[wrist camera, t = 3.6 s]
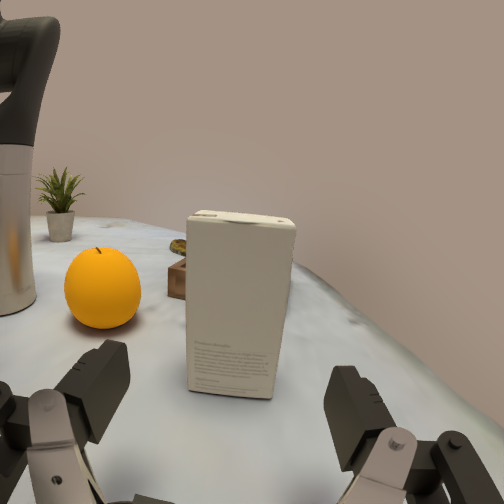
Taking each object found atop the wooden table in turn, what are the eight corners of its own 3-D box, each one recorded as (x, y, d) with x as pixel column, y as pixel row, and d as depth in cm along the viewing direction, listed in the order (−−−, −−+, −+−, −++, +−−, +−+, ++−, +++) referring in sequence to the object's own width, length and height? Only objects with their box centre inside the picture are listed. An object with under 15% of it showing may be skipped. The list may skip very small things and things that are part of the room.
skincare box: (270, 367, 22) (292, 216, 20) (272, 403, 18) (302, 225, 15) (194, 359, 22) (201, 207, 19) (182, 394, 18) (186, 213, 15)
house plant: (34, 234, 56) (35, 167, 52) (83, 231, 64) (86, 166, 61) (28, 247, 45) (28, 165, 42) (88, 243, 54) (91, 164, 50)
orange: (151, 335, 25) (150, 256, 23) (70, 344, 20) (58, 260, 19) (133, 301, 31) (132, 237, 30) (68, 306, 27) (62, 239, 25)
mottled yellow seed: (156, 254, 57) (216, 271, 50) (154, 232, 55) (216, 244, 49) (185, 243, 65) (243, 256, 58) (185, 223, 63) (243, 233, 57)
